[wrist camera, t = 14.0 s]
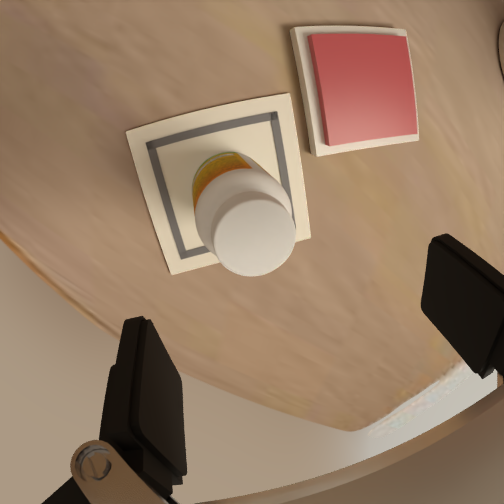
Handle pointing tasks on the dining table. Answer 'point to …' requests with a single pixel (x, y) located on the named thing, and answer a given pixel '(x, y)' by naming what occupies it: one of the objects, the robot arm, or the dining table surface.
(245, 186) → the supplement bottle
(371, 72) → the ink pad
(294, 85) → the dining table surface
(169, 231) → the marked sheet
